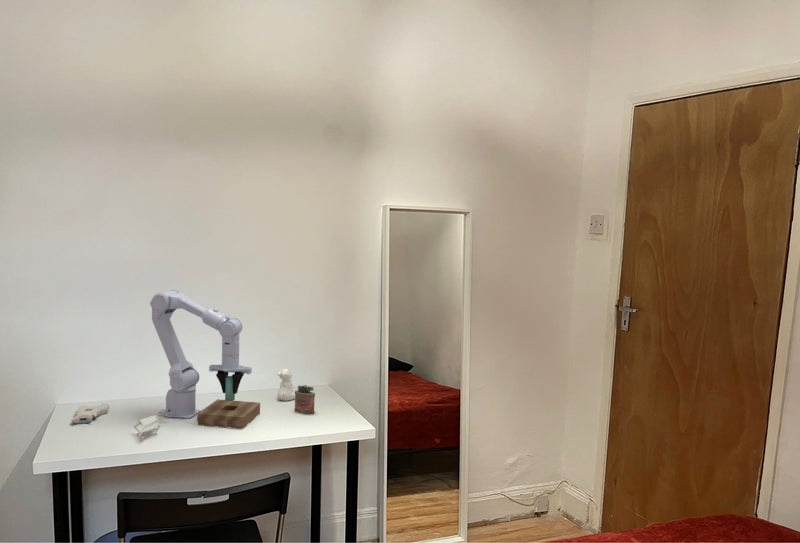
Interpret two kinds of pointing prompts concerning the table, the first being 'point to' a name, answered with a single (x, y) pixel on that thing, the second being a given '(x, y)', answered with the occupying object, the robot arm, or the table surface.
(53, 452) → the table surface
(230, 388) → the peg
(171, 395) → the robot arm
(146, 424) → the origami figure
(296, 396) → the lighter
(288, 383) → the white creature statuette
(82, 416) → the gun
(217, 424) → the socket block
